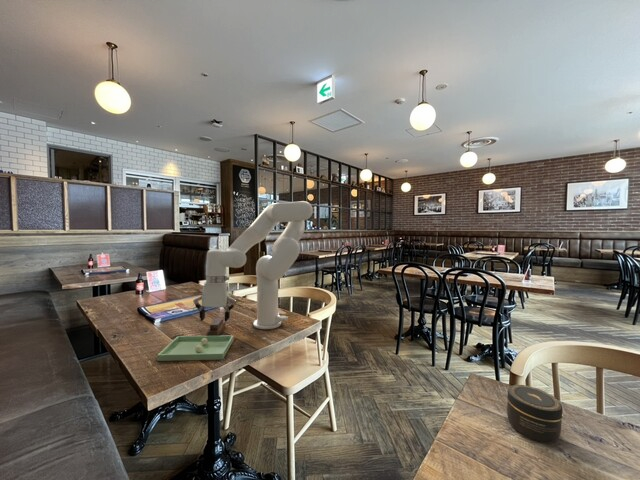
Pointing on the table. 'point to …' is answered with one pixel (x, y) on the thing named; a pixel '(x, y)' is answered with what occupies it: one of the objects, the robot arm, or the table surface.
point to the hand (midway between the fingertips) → (214, 320)
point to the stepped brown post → (216, 327)
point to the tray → (186, 348)
